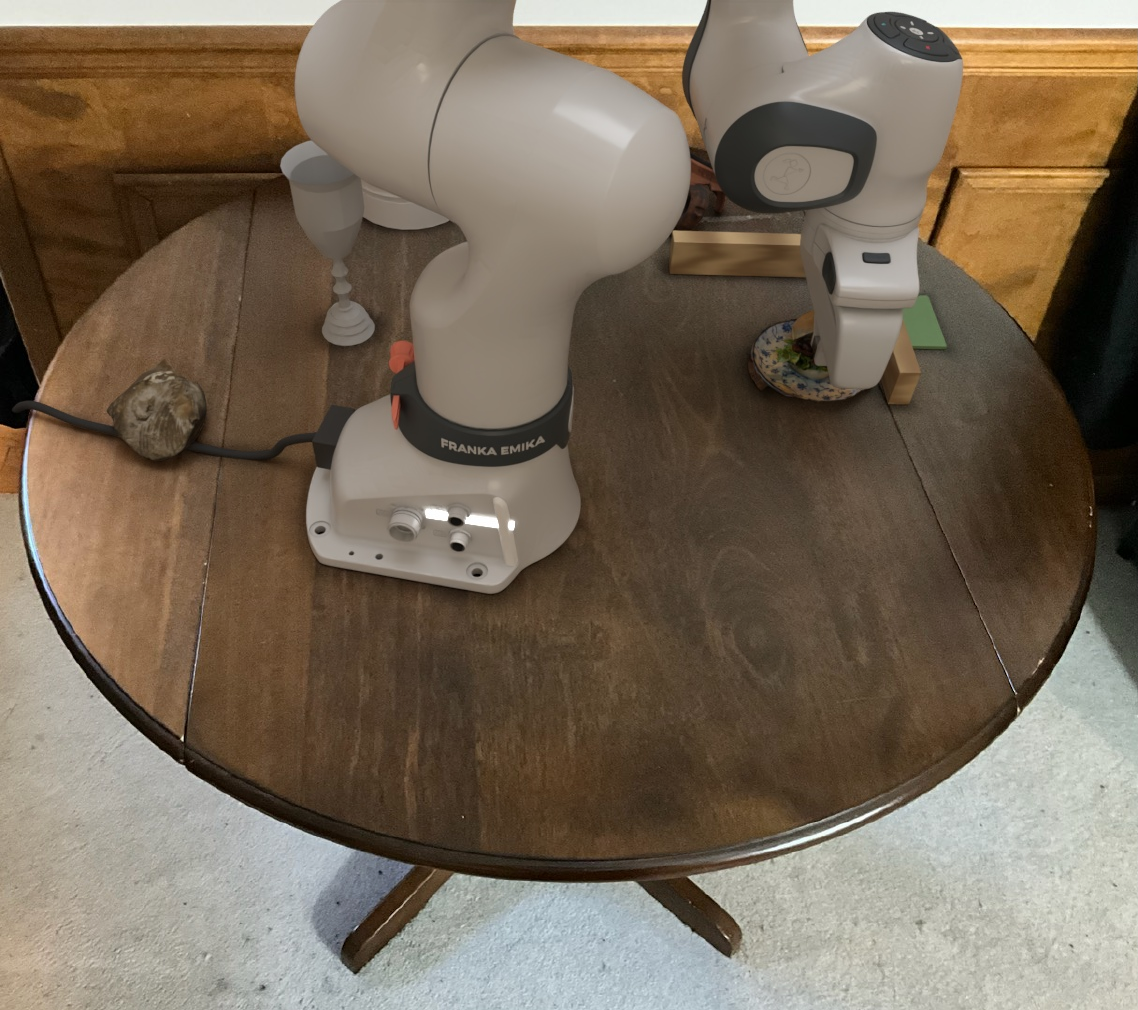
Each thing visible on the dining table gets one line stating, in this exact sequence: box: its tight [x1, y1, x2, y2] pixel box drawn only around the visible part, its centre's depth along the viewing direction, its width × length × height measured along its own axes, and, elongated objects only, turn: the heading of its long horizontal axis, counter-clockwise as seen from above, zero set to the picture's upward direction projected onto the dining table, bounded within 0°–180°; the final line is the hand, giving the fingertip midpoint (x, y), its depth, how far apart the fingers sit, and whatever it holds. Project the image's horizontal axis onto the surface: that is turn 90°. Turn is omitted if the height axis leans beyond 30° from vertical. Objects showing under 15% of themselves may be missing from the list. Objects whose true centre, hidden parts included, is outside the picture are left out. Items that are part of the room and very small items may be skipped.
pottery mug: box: [675, 151, 727, 231], centre depth 113 cm, size 12×10×8 cm
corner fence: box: [667, 230, 922, 406], centre depth 102 cm, size 21×21×4 cm
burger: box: [747, 309, 866, 403], centre depth 96 cm, size 12×12×8 cm
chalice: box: [279, 139, 376, 347], centre depth 94 cm, size 7×7×18 cm
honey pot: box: [361, 179, 450, 231], centre depth 109 cm, size 13×13×18 cm
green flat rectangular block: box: [903, 294, 948, 350], centre depth 105 cm, size 5×8×1 cm, turn 0°
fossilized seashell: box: [106, 358, 208, 462], centre depth 89 cm, size 8×7×10 cm
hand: (821, 356), depth 94 cm, fingers closed
